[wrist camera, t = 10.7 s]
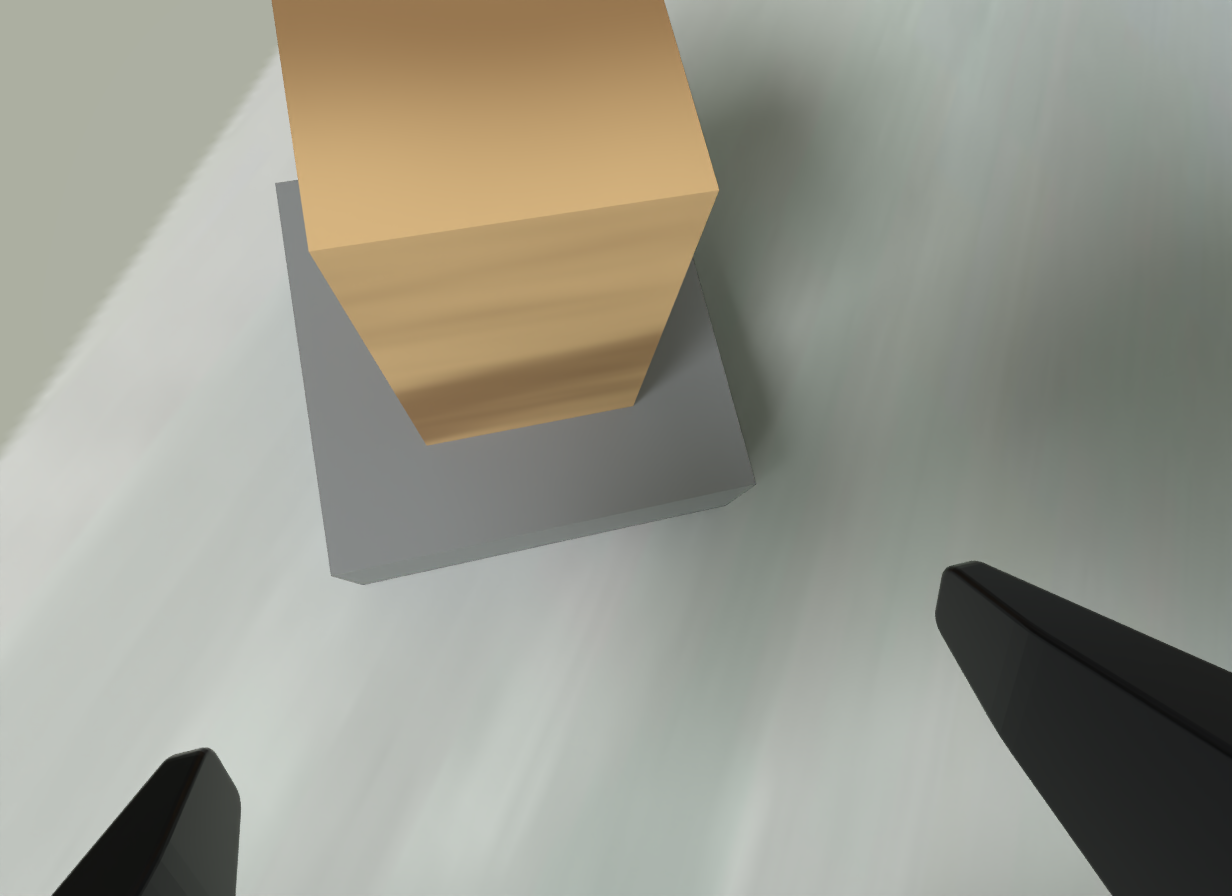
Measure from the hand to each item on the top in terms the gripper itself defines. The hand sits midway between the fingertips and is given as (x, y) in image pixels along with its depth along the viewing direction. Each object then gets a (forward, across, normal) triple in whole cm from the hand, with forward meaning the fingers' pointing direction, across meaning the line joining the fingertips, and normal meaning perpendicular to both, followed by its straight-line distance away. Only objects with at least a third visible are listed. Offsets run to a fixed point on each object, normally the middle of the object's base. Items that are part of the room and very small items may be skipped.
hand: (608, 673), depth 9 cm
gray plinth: (+13, 0, +2) cm, 13 cm away
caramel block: (+11, 0, 0) cm, 11 cm away
